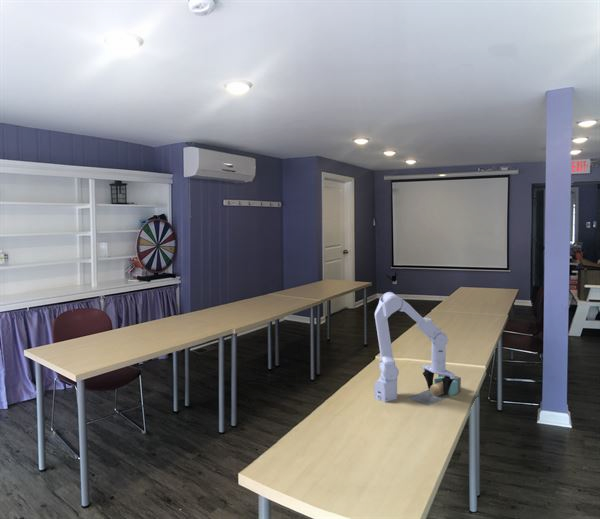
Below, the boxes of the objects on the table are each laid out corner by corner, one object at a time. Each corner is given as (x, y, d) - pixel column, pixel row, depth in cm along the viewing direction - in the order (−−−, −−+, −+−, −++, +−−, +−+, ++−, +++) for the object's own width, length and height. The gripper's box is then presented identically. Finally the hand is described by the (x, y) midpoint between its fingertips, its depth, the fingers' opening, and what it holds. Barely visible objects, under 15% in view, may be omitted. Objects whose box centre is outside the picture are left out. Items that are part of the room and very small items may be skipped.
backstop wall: (456, 394, 191) (456, 379, 190) (438, 387, 198) (438, 373, 197) (460, 392, 192) (460, 377, 192) (442, 386, 200) (442, 372, 199)
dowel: (440, 397, 186) (439, 386, 185) (430, 394, 189) (429, 383, 189) (451, 392, 190) (451, 381, 190) (441, 390, 194) (441, 379, 194)
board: (427, 407, 178) (427, 405, 178) (407, 399, 186) (407, 397, 186) (457, 394, 190) (457, 393, 190) (437, 387, 198) (437, 386, 198)
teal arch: (450, 395, 187) (450, 384, 187) (434, 390, 193) (434, 378, 193) (457, 392, 190) (457, 381, 190) (441, 387, 196) (441, 376, 196)
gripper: (459, 361, 184) (459, 393, 185) (429, 353, 195) (429, 383, 197) (449, 365, 180) (448, 398, 181) (419, 356, 191) (419, 387, 192)
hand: (438, 390), depth 188 cm, fingers open, 7 cm apart
